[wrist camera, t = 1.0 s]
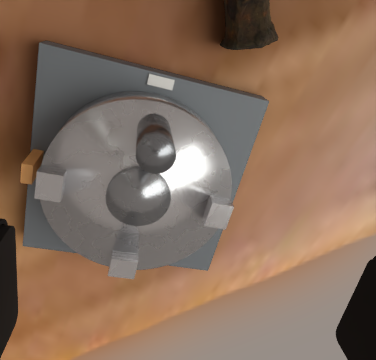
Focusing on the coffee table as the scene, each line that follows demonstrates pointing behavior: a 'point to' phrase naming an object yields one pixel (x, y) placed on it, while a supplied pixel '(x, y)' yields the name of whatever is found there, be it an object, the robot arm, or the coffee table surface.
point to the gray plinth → (124, 82)
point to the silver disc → (135, 182)
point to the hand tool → (248, 24)
